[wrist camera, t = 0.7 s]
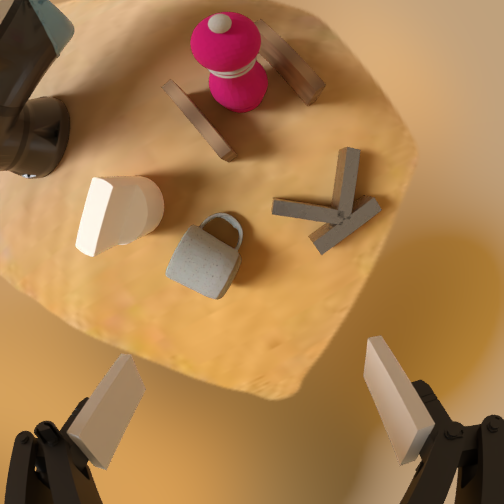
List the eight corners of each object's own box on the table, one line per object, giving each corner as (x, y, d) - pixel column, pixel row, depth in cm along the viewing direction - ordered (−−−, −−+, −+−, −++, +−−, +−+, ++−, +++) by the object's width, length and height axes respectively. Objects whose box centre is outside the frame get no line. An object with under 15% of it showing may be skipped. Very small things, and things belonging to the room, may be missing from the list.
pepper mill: (254, 63, 32) (243, -23, 13) (276, 104, 34) (285, 34, 15) (207, 83, 33) (158, 11, 14) (227, 124, 35) (189, 72, 16)
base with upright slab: (152, 245, 40) (113, 270, 28) (105, 221, 39) (58, 237, 28) (173, 189, 38) (136, 194, 26) (123, 167, 37) (75, 166, 25)
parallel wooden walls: (178, 101, 34) (161, 87, 27) (262, 42, 31) (260, 19, 25) (228, 162, 36) (220, 158, 30) (315, 100, 33) (325, 84, 27)
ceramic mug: (223, 291, 41) (215, 313, 34) (175, 265, 40) (157, 282, 33) (258, 228, 39) (256, 239, 31) (206, 200, 38) (192, 205, 31)
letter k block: (265, 203, 37) (265, 206, 34) (345, 145, 35) (354, 141, 31) (304, 255, 39) (308, 264, 35) (381, 199, 36) (392, 201, 32)
